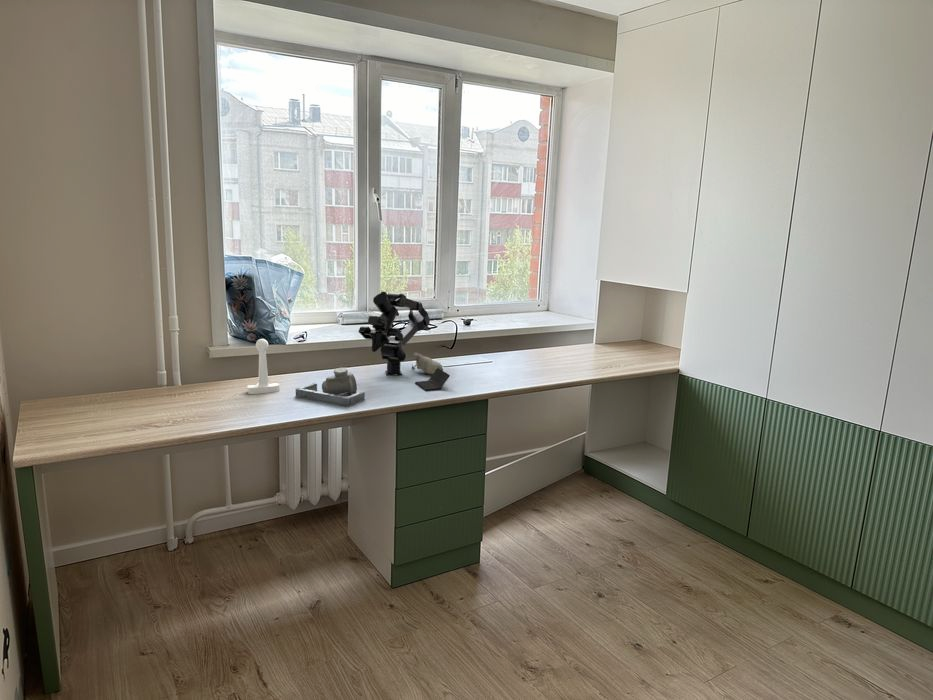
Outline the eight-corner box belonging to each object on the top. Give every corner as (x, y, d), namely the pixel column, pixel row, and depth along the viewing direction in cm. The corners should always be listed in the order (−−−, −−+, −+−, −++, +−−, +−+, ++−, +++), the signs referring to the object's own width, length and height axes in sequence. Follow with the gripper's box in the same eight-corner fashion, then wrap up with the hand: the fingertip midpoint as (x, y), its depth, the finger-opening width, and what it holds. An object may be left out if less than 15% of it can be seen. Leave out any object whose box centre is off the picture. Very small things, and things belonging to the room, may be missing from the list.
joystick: (248, 394, 228) (246, 340, 224) (246, 389, 235) (244, 336, 231) (280, 391, 233) (278, 339, 229) (276, 386, 240) (275, 335, 236)
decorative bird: (436, 379, 259) (436, 360, 258) (409, 371, 271) (409, 353, 270) (446, 377, 264) (446, 358, 262) (419, 369, 275) (419, 351, 274)
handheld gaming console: (409, 380, 249) (426, 358, 250) (422, 389, 254) (438, 368, 255) (425, 392, 240) (443, 369, 241) (438, 402, 245) (455, 379, 246)
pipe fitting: (352, 388, 239) (349, 363, 235) (358, 396, 232) (356, 370, 228) (321, 395, 234) (318, 369, 230) (327, 403, 227) (324, 377, 223)
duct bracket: (313, 390, 237) (313, 382, 236) (364, 399, 227) (364, 391, 226) (295, 396, 228) (295, 388, 227) (348, 407, 218) (348, 398, 217)
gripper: (358, 307, 253) (344, 339, 246) (396, 308, 244) (382, 341, 238) (372, 322, 262) (358, 354, 255) (409, 324, 253) (396, 357, 246)
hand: (373, 351), depth 248 cm, fingers closed
